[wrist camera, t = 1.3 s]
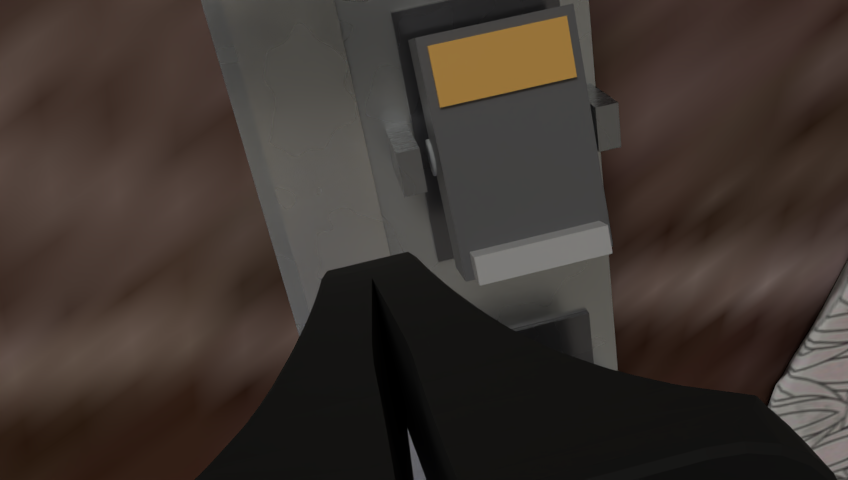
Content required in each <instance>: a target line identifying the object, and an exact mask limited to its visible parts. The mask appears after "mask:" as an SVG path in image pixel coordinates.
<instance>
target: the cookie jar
mask: <svg viewBox="0 0 848 480" xmlns="http://www.w3.org/2000/svg"><path fill="white" fill-rule="evenodd" d="M768 407H769V408H770V409H771V410H772V411H773V412H774V413H775V414H777V415H778V416H779V417H780V418H781V419H782V420H783V421H785V422H786V423H787V424H788V425H789V426H790V427H791V428H792V429H793V430H794V431H795V432H796V433H797V434H798V435H799V436H800V437H801V438H802V439H803V440H804V441H805V442H806V443H807V444H808V445H809V446H810V448H811V449H812V450H813V451H814V452H815V453H816V454H817V455H818V456H819V457H820V459H821V460H822V461H823V462H824V463H825V464H826V465H827V466H828V467H829V468H830V469H831V471H832V472H833V473H834V474H835V476H836V478H837V480H848V261H847V263H846V265H845V266H844V268H843V270H842V272H841V274H840V276H839V278H838V280H837V281H836V283H835V285H834V287H833V289H832V291H831V293H830V295H829V296H828V298H827V300H826V302H825V304H824V306H823V308H822V310H821V311H820V313H819V315H818V317H817V319H816V321H815V322H814V324H813V326H812V328H811V329H810V331H809V332H808V334H807V335H806V337H805V339H804V340H803V342H802V343H801V345H800V346H799V348H798V350H797V351H796V353H795V354H794V356H793V357H792V359H791V361H790V363H789V364H788V366H787V368H786V370H785V372H784V374H783V376H782V377H781V378H780V380H779V381H778V383H777V384H776V386H775V388H774V391H773V393H772V396H771V399H770V401H769V404H768Z"/></svg>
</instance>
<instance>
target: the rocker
mask: <svg viewBox="0 0 848 480" xmlns="http://www.w3.org/2000/svg"><path fill="white" fill-rule="evenodd" d="M408 42H409V47H410V52H411V57H412V61H413V66H414V71H415V76H416V80H417V85H418V90H419V95H420V99H421V104H422V109H423V113H424V118H425V123H426V128H427V132H428V137H429V139H427V140H426V141H425V143H426V151H427V156H428V160H429V164H430V168H431V171H432V174H433V176H437V180H438V184H439V189H440V194H441V199H442V203H443V208H444V213H445V218H446V222H447V227H448V232H449V236H450V241H451V246H452V251H453V255H454V260H455V265H456V269H457V270H458V271H459V273H460V274H461V276H462V277H463V278H464V280H465V281H466V282H467V281H471V280H476V281H477V283H478V284H479V285H480V286H481V285H485V284H489V283H493V282H497V281H501V280H505V279H510V278H514V277H518V276H522V275H526V274H530V273H534V272H538V271H542V270H546V269H550V268H555V267H559V266H563V265H567V264H571V263H575V262H579V261H583V260H587V259H591V258H595V257H600V256H604V255H608V254H612V247H611V246H613V242H612V236H611V230H610V224H609V218H608V211H607V205H606V199H605V193H604V187H603V181H602V175H601V169H600V163H599V157H598V151H597V144H596V138H595V132H594V126H593V120H592V114H591V108H590V102H589V96H588V90H587V83H586V77H585V71H584V65H583V59H582V53H581V47H580V41H579V35H578V29H577V23H576V16H575V10H574V4H568V5H564V6H559V7H554V8H550V9H545V10H541V11H536V12H532V13H527V14H522V15H518V16H513V17H509V18H504V19H499V20H495V21H490V22H486V23H481V24H476V25H472V26H467V27H463V28H458V29H453V30H449V31H444V32H440V33H435V34H430V35H426V36H421V37H417V38H413V39H410V40H408Z"/></svg>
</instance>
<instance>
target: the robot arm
mask: <svg viewBox="0 0 848 480" xmlns="http://www.w3.org/2000/svg"><path fill="white" fill-rule="evenodd" d="M407 429H408V430H407ZM408 431H409V434H410V437H411V440H412V442H413V445H414V448H415V450H416V453H417V456H418V458H419V461H420V464H421V467H422V469H423V472H424V475H425V477H426V480H837V478H836V476H835V474H834V473H833V472H832V471H831V469H830V468H829V467H828V466H827V465H826V464H825V463H824V462H823V461H822V460H821V459H820V457H819V456H818V455H817V454H816V453H815V452H814V451H813V450H812V449H811V448H810V446H809V445H808V444H807V443H806V442H805V441H804V440H803V439H802V438H801V437H800V436H799V435H798V434H797V433H796V432H795V431H794V430H793V429H792V428H791V427H790V426H789V425H788V424H787V423H786V422H785V421H783V420H782V419H781V418H780V417H779V416H778V415H777V414H775V413H774V412H773V411H772V410H771V409H770V408H769V407H767V406H766V405H765V404H764V403H763V402H762V401H761V400H760V399H759V398H758V397H757V396H755V395H747V394H740V393H732V392H725V391H717V390H710V389H702V388H695V387H688V386H681V385H675V384H670V383H666V382H661V381H657V380H652V379H648V378H643V377H639V376H634V375H630V374H627V373H623V372H619V371H616V370H612V369H609V368H605V367H602V366H599V365H596V364H593V363H590V362H587V361H584V360H581V359H578V358H575V357H573V356H570V355H567V354H565V353H562V352H560V351H557V350H554V349H552V348H550V347H548V346H545V345H543V344H541V343H539V342H537V341H535V340H533V339H530V338H528V337H526V336H524V335H522V334H520V333H518V332H516V331H514V330H512V329H510V328H509V327H507V326H505V325H504V324H502V323H500V322H499V321H497V320H496V319H494V318H492V317H491V316H489V315H488V314H486V313H485V312H483V311H482V310H480V309H479V308H477V307H476V306H474V305H473V304H472V303H470V302H469V301H468V300H466V299H465V298H463V297H462V296H461V295H459V294H458V293H457V292H455V291H454V290H453V289H452V288H450V287H449V286H448V285H446V284H445V283H444V282H443V281H442V280H441V279H439V278H438V277H437V276H436V275H435V274H434V273H432V272H431V271H430V270H429V269H428V268H427V267H426V266H425V265H424V264H423V263H422V262H421V261H420V260H419V259H418V258H417V257H416V256H414V255H413V254H411V253H409V252H404V253H400V254H396V255H392V256H388V257H383V258H379V259H375V260H371V261H367V262H362V263H358V264H354V265H350V266H346V267H342V268H337V269H333V270H329V271H327V272H326V273H325V275H324V276H323V278H322V279H321V283H320V287H319V290H318V293H317V296H316V299H315V302H314V305H313V307H312V310H311V312H310V315H309V317H308V319H307V322H306V324H305V326H304V328H303V330H302V332H301V335H300V337H299V339H298V341H297V343H296V345H295V347H294V349H293V351H292V353H291V355H290V357H289V358H288V360H287V362H286V364H285V365H284V367H283V369H282V371H281V372H280V374H279V376H278V378H277V380H276V381H275V383H274V385H273V386H272V388H271V389H270V391H269V392H268V394H267V395H266V397H265V399H264V400H263V401H262V403H261V404H260V406H259V407H258V409H257V410H256V411H255V413H254V414H253V415H252V417H251V418H250V420H249V421H248V422H247V423H246V425H245V426H244V427H243V428H242V430H241V431H240V432H239V433H238V434H237V435H236V436H235V437H234V438H233V439H232V441H231V442H230V443H229V444H228V445H227V446H226V447H225V448H224V449H223V450H222V452H221V453H220V454H219V455H218V456H217V457H216V458H215V459H214V460H213V461H212V463H211V464H210V465H209V466H208V467H207V468H206V469H205V470H204V471H203V472H202V473H201V474H200V475H199V476H198V477H197V478H196V479H195V480H414V477H413V469H412V461H411V453H410V445H409V437H408Z"/></svg>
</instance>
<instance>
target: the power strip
mask: <svg viewBox="0 0 848 480" xmlns="http://www.w3.org/2000/svg"><path fill="white" fill-rule="evenodd" d="M201 2H202V6H203V9H204V12H205V16H206V19H207V23H208V26H209V29H210V33H211V36H212V40H213V43H214V47H215V50H216V53H217V57H218V60H219V64H220V67H221V70H222V74H223V77H224V81H225V84H226V87H227V91H228V94H229V98H230V101H231V104H232V108H233V111H234V115H235V118H236V121H237V125H238V128H239V132H240V135H241V139H242V142H243V145H244V149H245V152H246V156H247V159H248V162H249V166H250V169H251V173H252V176H253V179H254V183H255V186H256V190H257V193H258V196H259V200H260V203H261V207H262V210H263V213H264V217H265V220H266V224H267V227H268V230H269V234H270V237H271V241H272V244H273V248H274V251H275V254H276V258H277V261H278V265H279V268H280V271H281V275H282V278H283V282H284V285H285V288H286V292H287V295H288V299H289V302H290V305H291V309H292V312H293V316H294V319H295V322H296V326H297V329H298V333H299V336H300V335H301V332H302V330H303V328H304V326H305V324H306V322H307V319H308V317H309V315H310V312H311V310H312V307H313V305H314V302H315V299H316V296H317V293H318V290H319V287H320V283H321V279H322V278H323V276H324V275H325V273H326V272H327V271H329V270H333V269H337V268H342V267H346V266H350V265H354V264H358V263H362V262H367V261H371V260H375V259H379V258H383V257H388V256H392V255H396V254H400V253H404V252H409V253H411V254H413V255H414V256H416V257H417V258H418V259H419V260H420V261H421V262H422V263H423V264H424V265H425V266H426V267H427V268H428V269H429V270H430V271H431V272H432V273H434V274H435V275H436V276H437V277H438V278H439V279H441V280H442V281H443V282H444V283H445V284H446V285H448V286H449V287H450V288H452V289H453V290H454V291H455V292H457V293H458V294H459V295H461V296H462V297H463V298H465V299H466V300H468V301H469V302H470V303H472V304H473V305H474V306H476V307H477V308H479V309H480V310H482V311H483V312H485V313H486V314H488V315H489V316H491V317H492V318H494V319H496V320H497V321H499V322H500V323H502V324H504V325H505V326H507V327H509V328H510V329H512V330H514V331H516V332H518V333H520V334H522V335H524V336H526V337H528V338H530V339H533V340H535V341H537V342H539V343H541V344H543V345H545V346H548V347H550V348H552V349H554V350H557V351H560V352H562V353H565V354H567V355H570V356H573V357H575V358H578V359H581V360H584V361H587V362H590V363H593V364H596V365H599V366H602V367H606V368H609V369H612V370H616V371H618V368H617V355H616V342H615V329H614V317H613V304H612V291H611V278H610V266H609V254H608V255H604V256H600V257H595V258H591V259H587V260H583V261H579V262H575V263H571V264H567V265H563V266H559V267H555V268H550V269H546V270H542V271H538V272H534V273H530V274H526V275H522V276H518V277H514V278H510V279H505V280H501V281H497V282H493V283H489V284H485V285H481V286H480V285H479V284H478V283H477V281H476V280H471V281H467V282H466V281H465V280H464V278H463V277H462V276H461V274H460V273H459V271H458V270H457V269H456V265H455V260H454V255H453V251H452V246H451V241H450V236H449V232H448V227H447V222H446V218H445V213H444V208H443V203H442V199H441V194H440V189H439V184H438V180H437V176H433V174H432V171H431V168H430V164H429V160H428V156H427V151H426V143H425V141H426V140H427V139H429V137H428V132H427V128H426V123H425V118H424V113H423V109H422V104H421V99H420V95H419V90H418V85H417V80H416V76H415V71H414V66H413V61H412V57H411V52H410V47H409V42H408V40H410V39H413V38H417V37H421V36H426V35H430V34H435V33H440V32H444V31H449V30H453V29H458V28H463V27H467V26H472V25H476V24H481V23H486V22H490V21H495V20H499V19H504V18H509V17H513V16H518V15H522V14H527V13H532V12H536V11H541V10H545V9H550V8H554V7H559V6H564V5H568V4H574V10H575V16H576V23H577V29H578V35H579V41H580V47H581V53H582V59H583V65H584V71H585V77H586V83H587V90H588V96H589V102H590V108H591V114H592V120H593V126H594V132H595V138H596V144H597V151H598V157H599V163H600V169H601V175H602V164H601V151H605V150H609V149H614V148H618V147H621V137H620V122H619V107H618V102H617V101H615V100H614V99H612V98H611V97H610V96H608V95H607V94H605V93H604V92H603V91H601V90H600V89H598V88H597V87H596V86H595V74H594V62H593V49H592V36H591V23H590V11H589V0H201ZM602 181H603V176H602ZM407 430H408V429H407ZM408 437H409V445H410V453H411V461H412V469H413V477H414V480H426V477H425V475H424V472H423V469H422V467H421V464H420V461H419V458H418V456H417V453H416V450H415V448H414V445H413V442H412V440H411V437H410V434H409V431H408Z"/></svg>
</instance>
